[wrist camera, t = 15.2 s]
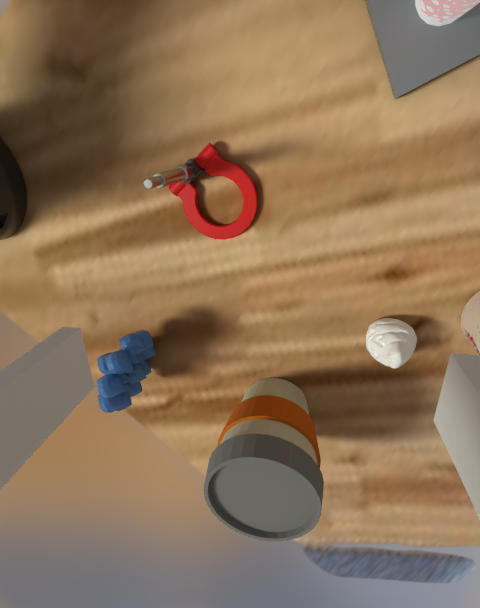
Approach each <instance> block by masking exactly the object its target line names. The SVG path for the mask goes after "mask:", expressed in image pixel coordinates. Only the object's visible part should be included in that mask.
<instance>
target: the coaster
mask: <svg viewBox="0 0 480 608" xmlns="http://www.w3.org/2000/svg"><path fill="white" fill-rule="evenodd" d="M365 1H366V5H367V8H368V11H369V15H370V18H371V21H372V25H373V28H374V31H375V35H376V38H377V41H378V45H379V48H380V52H381V55H382V58H383V62H384V65H385V68H386V72H387V75H388V78H389V82H390V85H391V88H392V92H393V95H394V98H395V99H396V98H398V97H400V96H402V95H404V94H406V93H407V92H409V91H411V90H413V89H415V88H417V87H419V86H421V85H423V84H425V83H427V82H428V81H430V80H432V79H434V78H436V77H438V76H440V75H442V74H444V73H446V72H448V71H450V70H451V69H453V68H455V67H457V66H459V65H461V64H463V63H465V62H467V61H469V60H471V59H472V58H474V57H476V56H478V55H480V3H478V4H477V5H476V6H474V7H473V8H472V9H470V10H469V11H468V12H466V13H465V14H464V15H462V16H461V17H459V18H458V19H456V20H455V21H453V22H452V23H450V24H446V25H442V26H434V25H430V24H427V23H426V22H425V21H424V20H423V19H421V18H420V17H419V14H418V12H417V9H416V6H415V0H365Z"/></svg>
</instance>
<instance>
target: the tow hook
mask: <svg viewBox="0 0 480 608" xmlns="http://www.w3.org/2000/svg"><path fill="white" fill-rule="evenodd" d="M218 154H219V152H218V150H217V149H216V148H215V147H214V146H213V145H212V144H211V143H209V144H208V145H207V146H206V147H205V149H204V150H203V151H202V152H201V153H200V154H199V155H198V156H197V157H196V158H193V159H189V160H188V161H187V162H186V163H185V164H182V165H178V166H177V167H176V168H175V169H173V170H168V171H164V172H160V173H156V174H154V175H153V176H152V177H151V178H147V179H145V180H144V182H143V185H144V187H145V188H147V189H151V188H154V187H156V188H163V187H165V186H168V185H170V186H169V189H170V191H171V192H172V193H173V194H174V195H176V196H179V197H180V198H181V199H182V200H183V206H184V210H185V213H186V216H187V217H188V219H189V221H190V222H191V224H192V225H193V226H194V227H195V228H196V229H197V230H198V231H199V232H201V233H203V234H204V235H206V236H208V237H211V238H215V239H228V238H233V237H235V236H237V235H239V234H241V233H243V232H244V231H245V230H246V229H247V228H248V227H249V226H250V224H251V222H252V221H253V219H254V217H255V214H256V211H257V207H258V196H257V191H256V187H255V185H254V183H253V181H252V179H251V177H250V176H249V175H248V174H247V173H246V172H245V170H244V169H242V168H241V167H239V166H238V165H236V164H234V163H231V162H228V161H225V160H223V159H222V158H221V157H220V156H219V155H218ZM204 170H206V171H207V173H208V174H209V175H210V176H224V177H227V178H229V179H231V180H233V181H234V182H235V183H236V184H237V185H238V186H239V188H240V190H241V192H242V195H243V199H244V206H243V210H242V213H241V215H240V216H239V218H238V219H237V220H236V221H234V222H232V223H231V224H227V225H217V224H213V223H211V222H210V221H208V220H207V219H206V218H205V217H204V216H203V215H202V214H201V212H200V210H199V207H198V204H197V195H198V190H197V189H196V187H195V186H194V185H193V184H192V183H193V182H194V181H195V180H196V178H197V177H198V176H199V175H200V174H201V173H202V172H203V171H204Z"/></svg>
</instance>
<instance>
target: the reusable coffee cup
mask: <svg viewBox="0 0 480 608" xmlns="http://www.w3.org/2000/svg"><path fill="white" fill-rule="evenodd" d="M323 484H324V481H323V477H322V473H321V471H320V454H319V448H318V443H317V437H316V432H315V427H314V424H313V421H312V419H311V418H310V416H309V410H308V404H307V400H306V397H305V395H304V394H303V392H302V391H301V390H300V389H299V388H298V387H297V386H296V385H294V384H293V383H291V382H289V381H286V380H284V379H279V378H265V379H261V380H259V381H257V382H255V383H253V384H252V385H251V386H250V387H249V388H248V390H247V392H246V394H245V395H244V397H243V399H242V401H241V403H240V404H239V405H237V407H236V408H235V409H234V410H233V412H232V414H231V416H230V418H229V420H228V422H227V424H226V426H225V427H224V429H223V431H222V433H221V435H220V438H219V440H218V446H217V448H216V449H215V450H214V451H213V453H212V455H211V457H210V459H209V464H208V469H207V474H206V479H205V484H204V495H205V499H206V502H207V504H208V506H209V507H210V509H211V511H212V512H213V513H214V515H215V516H216V517H217V518H218V519H219V520H220V521H222V522H223V523H224V524H225V525H227V526H228V527H230V528H231V529H233V530H235V531H236V532H239V533H241V534H243V535H246V536H249V537H252V538H255V539H260V540H267V541H284V540H291V539H295V538H298V537H300V536H303V535H305V534H307V533H308V532H309V531H310V530H312V529H313V528H314V527H315V525H316V524H317V523H318V521H319V518H320V516H321V508H322V497H323Z"/></svg>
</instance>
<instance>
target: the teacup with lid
mask: <svg viewBox="0 0 480 608" xmlns="http://www.w3.org/2000/svg"><path fill="white" fill-rule="evenodd" d="M461 329H462V332H463V334H464V336H465V337H466V339H467V340H468V341H469V342H470V344H471V345H472V346H473V347H474V348H475V350H476V351H477V352H478V353H479V354H480V291H478V292H477V293H476V294H475V295H473V296H472V297H471V299H470V300H469V301H468V302H467V304H466V305H465V307H464V309H463V311H462V315H461Z"/></svg>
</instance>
